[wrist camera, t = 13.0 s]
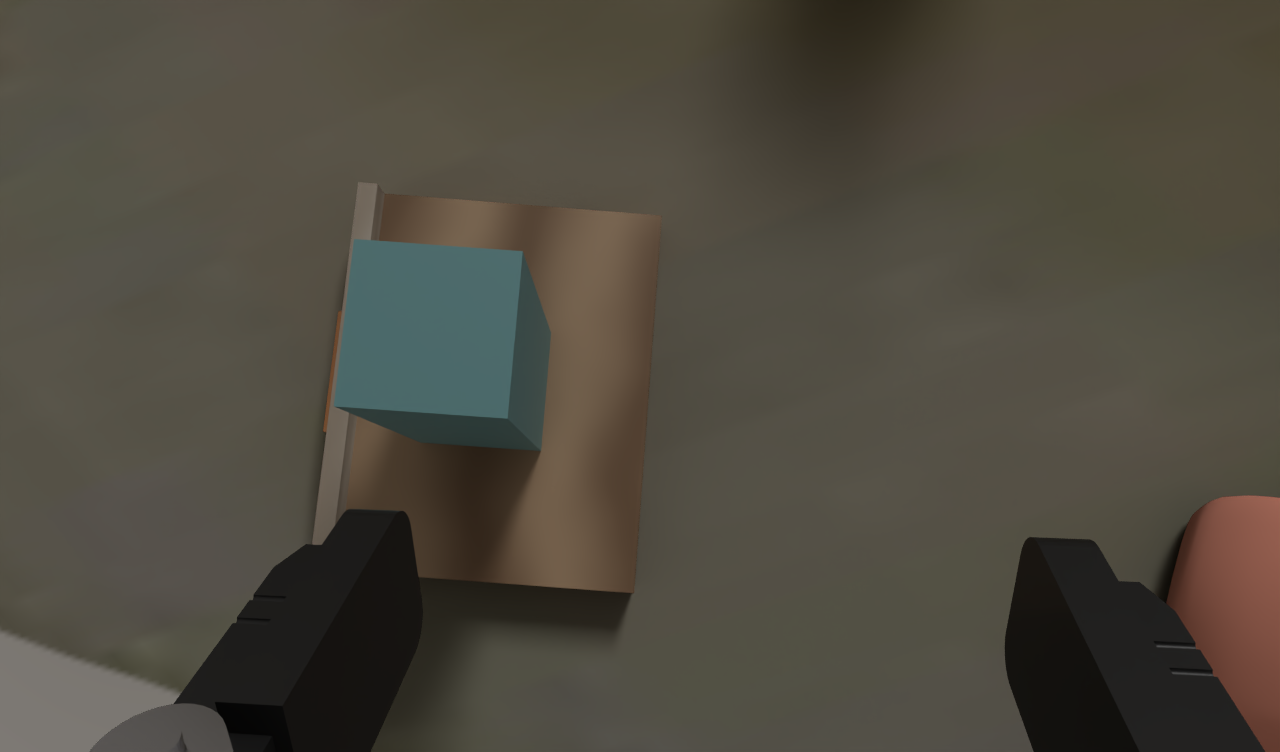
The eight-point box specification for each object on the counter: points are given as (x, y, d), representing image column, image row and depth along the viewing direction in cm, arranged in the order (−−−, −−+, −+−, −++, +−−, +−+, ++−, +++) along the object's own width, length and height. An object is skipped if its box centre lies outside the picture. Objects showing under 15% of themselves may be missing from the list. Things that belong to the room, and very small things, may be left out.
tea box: (551, 332, 40) (522, 251, 28) (541, 451, 39) (507, 418, 27) (431, 324, 40) (352, 239, 28) (418, 442, 39) (331, 406, 27)
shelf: (659, 230, 42) (663, 206, 39) (633, 589, 40) (634, 595, 37) (373, 207, 42) (353, 181, 39) (328, 567, 40) (303, 570, 37)
